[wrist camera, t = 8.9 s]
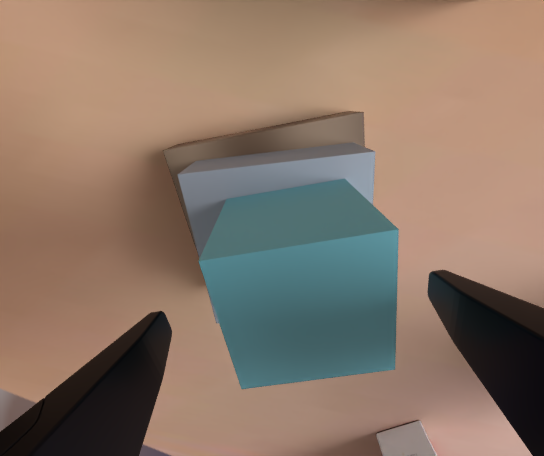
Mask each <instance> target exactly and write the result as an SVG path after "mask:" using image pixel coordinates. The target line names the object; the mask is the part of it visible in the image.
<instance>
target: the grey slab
mask: <svg viewBox="0 0 544 456" xmlns="http://www.w3.org/2000/svg"><path fill="white" fill-rule="evenodd" d="M374 168H375V151H373V150H370V149H368V148H366V147H363V146H361V145H358V144H356V143H354V142H353V143H344V144H336V145H327V146H319V147H310V148H302V149H293V150H285V151H276V152H268V153H259V154H251V155H242V156H234V157H225V158H217V159H208V160H200V161H195V162H194V163H192V164H191V165H190V166H188V167H187V168H186V169H184V170H183V171H182V172H180V173H179V174H177V175H178V178H179V182H180V186H181V190H182V194H183V198H184V201H185V205H186V209H187V213H188V217H189V221H190V224H191V228H192V232H193V236H194V240H195V244H196V247H197V251H198V255H199V259H200V257H201V254H202V252H203V250H204V248H205V246H206V243H207V241H208V239H209V237H210V235H211V232H212V230H213V228H214V226H215V224H216V221H217V219H218V217H219V215H220V212H221V210H222V208H223V206H224V204H225V201H226V199H229V198H235V197H241V196H247V195H253V194H258V193H264V192H270V191H276V190H281V189H287V188H293V187H299V186H305V185H310V184H316V183H322V182H328V181H334V180H339V179H346V180H347V181H348V182H349V183H350V184H351V185H352V186H353V187H354V188H355V189H356V190H357V191H358V192H360V193H361V194H362V195H363V196H364V197H365V198H366V199H367V200H368V201H369V202H370V203H371V204H372V205H373V190H374ZM206 286H207V285H206ZM207 289H208V288H207ZM208 293H209V291H208ZM209 297H210V294H209ZM210 301H211V305H212V309H213V312H214V316H215V320H216V323H219V321H218V318H217V315H216V312H215V309H214V306H213V303H212V300H211V297H210Z"/></svg>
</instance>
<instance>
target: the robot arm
mask: <svg viewBox="0 0 544 456" xmlns="http://www.w3.org/2000/svg"><path fill="white" fill-rule="evenodd" d="M428 297H429V299H430V301H431V303H432V305H433V307H434V308H435V310H436V312H437V314H438V316H439V317H440V319H441V321H442V323H443V325H444V326H445V328H446V330H447V332H448V334H449V335H450V337H451V339H452V340H453V342H454V343H455V345H456V346H457V348H458V349H459V351H460V352H461V354H462V355H463V357H464V358H465V359H466V361H467V362H468V364H469V365H470V367H471V368H472V369H473V371H474V372H475V374H476V375H477V377H478V378H479V380H480V381H481V382H482V384H483V385H484V387H485V388H486V390H487V391H488V392H489V394H490V395H491V397H492V398H493V400H494V401H495V402H496V404H497V405H498V407H499V408H500V410H501V411H502V412H503V414H504V415H505V417H506V418H507V420H508V421H509V422H510V424H511V425H512V427H513V428H514V430H515V431H516V432H517V434H518V435H519V437H520V438H521V440H522V441H523V442H524V444H525V445H526V447H527V448H528V450H529V451H530V452H531V454H532V455H533V456H544V308H542V307H539V306H536V305H534V304H531V303H529V302H526V301H523V300H521V299H518V298H516V297H513V296H511V295H508V294H505V293H503V292H500V291H498V290H495V289H492V288H490V287H487V286H485V285H482V284H480V283H477V282H474V281H472V280H469V279H467V278H464V277H461V276H459V275H456V274H454V273H451V272H449V271H446V270H438V271H432V272H430V274H429V281H428ZM171 337H172V330H171V327H170V324H169V322H168V320H167V317H166V315H165V313H164V312H162V311H158V312H152V313H150V314H148V315H147V316H146V317H144V318H143V319H142V320H141V321H139V322H138V323H137V324H136V325H134V326H133V327H132V328H131V329H129V330H128V331H127V332H126V333H124V334H123V335H122V336H121V337H119V338H118V339H117V340H116V341H114V342H113V343H112V344H111V345H109V346H108V347H107V348H106V349H104V350H103V351H102V352H101V353H99V354H98V355H97V356H96V357H94V358H93V359H92V360H91V361H89V362H88V363H87V364H86V365H84V366H83V367H82V368H81V369H79V370H78V371H77V372H75V373H74V374H73V375H72V376H70V377H69V378H68V379H67V380H65V381H64V382H63V383H62V384H60V385H59V386H58V387H57V388H55V389H54V390H53V391H52V392H50V393H49V394H48V395H47V396H46V397H45V398H43V399H42V400H40V401H39V402H38V403H37V404H35V405H34V406H33V407H32V408H30V409H29V410H28V411H27V412H25V413H24V414H23V415H22V416H20V417H19V418H18V419H16V420H15V421H14V422H12V423H11V424H10V425H9V426H7V427H6V428H5V429H3V430H2V431H1V432H0V456H139V454H140V450H141V447H142V444H143V441H144V438H145V434H146V431H147V428H148V425H149V422H150V418H151V415H152V412H153V409H154V406H155V402H156V399H157V396H158V393H159V390H160V386H161V383H162V379H163V375H164V371H165V366H166V361H167V356H168V351H169V346H170V342H171Z"/></svg>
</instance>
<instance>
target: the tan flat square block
mask: <svg viewBox="0 0 544 456" xmlns="http://www.w3.org/2000/svg"><path fill="white" fill-rule="evenodd" d="M353 142H354V143H356V144H358V145H361V146H363V147H365V141H364V112H353V111H349V112H343V113H338V114H333V115H328V116H323V117H318V118H312V119H307V120H302V121H297V122H292V123H287V124H281V125H276V126H271V127H266V128H261V129H255V130H250V131H245V132H240V133H235V134H230V135H224V136H219V137H214V138H209V139H204V140H199V141H193V142H188V143H183V144H178V145H175V146H173V147H171V148H168V149H166V150H163V152H164V155H165V158H166V161H167V164H168V167H169V170H170V173H171V176H172V179H173V182H174V185H175V188H176V191H177V194H178V197H179V199H180V202H181V205H182V208H183V211H184V214H185V217H186V220H187V223H188V226H189V229H190V232H191V235H192V238H193V241H194V244H195V240H194V236H193V232H192V228H191V224H190V221H189V217H188V213H187V209H186V205H185V201H184V198H183V194H182V190H181V186H180V182H179V178H178V175H177V174H179V173H180V172H182V171H183V170H184V169H186V168H187V167H188V166H190V165H191V164H192V163H194V162H195V161H200V160H208V159H217V158H225V157H234V156H242V155H251V154H259V153H268V152H276V151H285V150H293V149H302V148H310V147H319V146H327V145H336V144H344V143H353ZM195 247H196V244H195ZM196 249H197V247H196ZM197 252H198V251H197Z"/></svg>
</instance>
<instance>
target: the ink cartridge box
mask: <svg viewBox="0 0 544 456" xmlns="http://www.w3.org/2000/svg"><path fill="white" fill-rule="evenodd" d="M376 436H377V440H378V443H379V446H380V449H381V452H382V455H383V456H437V454H436V452H435V450H434V448H433V446H432V444H431V442H430V440H429V438H428V436H427V434H426V432H425V430H424V428H423V425H422V423H421V421H416V422H413V423H409V424H406V425H403V426H399V427H396V428H393V429H389V430H386V431H383V432H379V433H377V434H376Z"/></svg>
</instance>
